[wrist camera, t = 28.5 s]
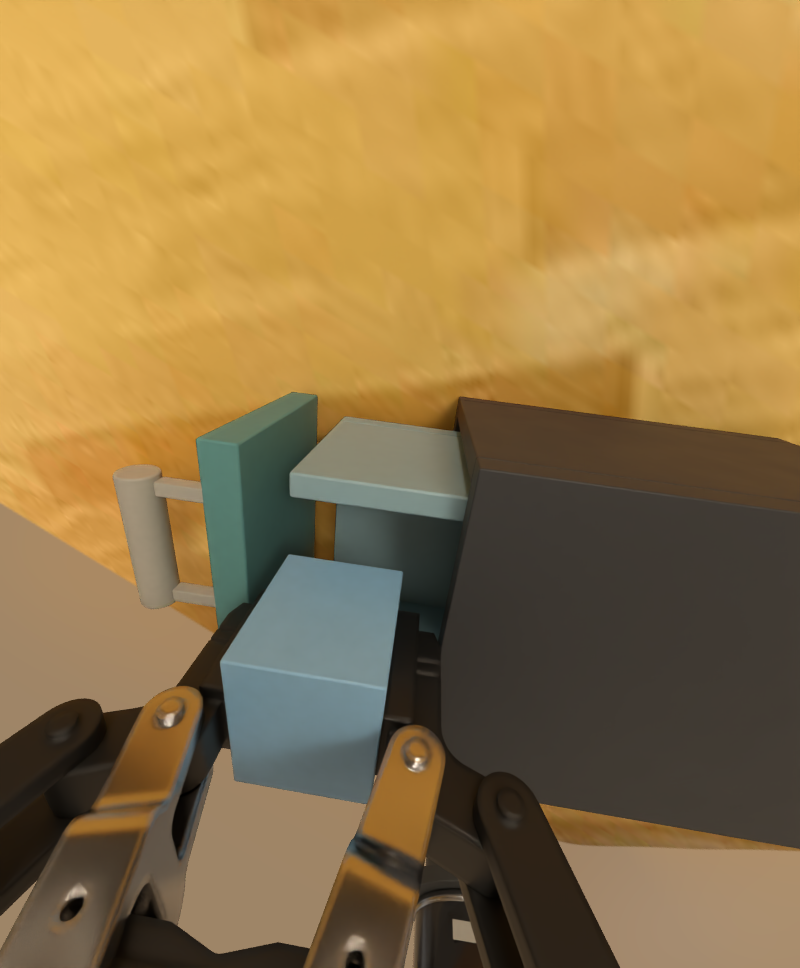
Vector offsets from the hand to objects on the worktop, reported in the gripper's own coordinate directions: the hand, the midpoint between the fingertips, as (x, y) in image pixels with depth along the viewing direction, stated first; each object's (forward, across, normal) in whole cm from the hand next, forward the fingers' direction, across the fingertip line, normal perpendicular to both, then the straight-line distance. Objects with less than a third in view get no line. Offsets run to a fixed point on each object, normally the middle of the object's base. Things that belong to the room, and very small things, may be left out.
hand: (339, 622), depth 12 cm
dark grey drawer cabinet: (+8, -10, 0) cm, 13 cm away
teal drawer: (+7, 0, 0) cm, 7 cm away
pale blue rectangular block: (0, 0, 0) cm, 0 cm away
